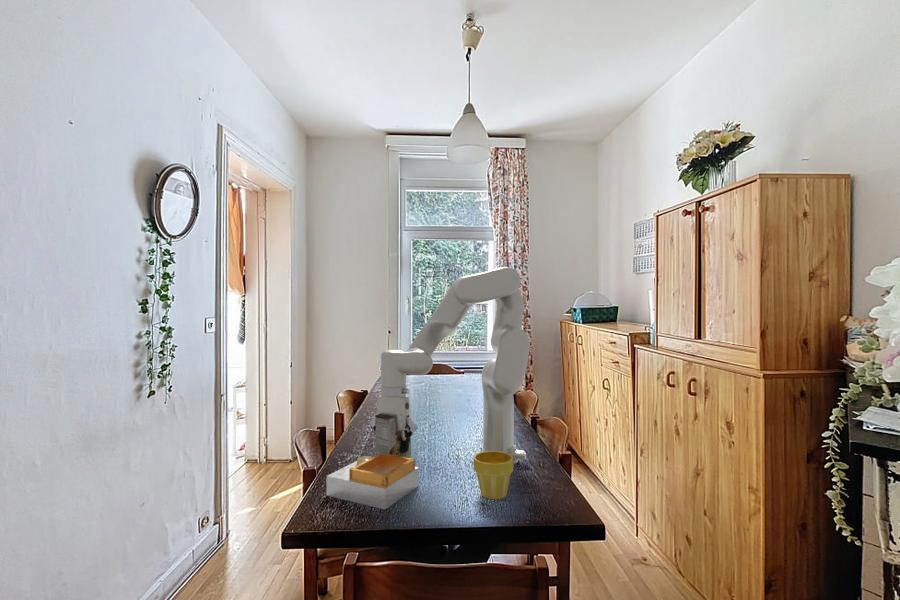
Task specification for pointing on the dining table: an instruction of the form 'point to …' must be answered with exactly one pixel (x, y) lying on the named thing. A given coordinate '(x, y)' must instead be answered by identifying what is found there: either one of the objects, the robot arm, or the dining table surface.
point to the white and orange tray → (374, 480)
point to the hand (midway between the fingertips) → (393, 449)
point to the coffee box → (389, 436)
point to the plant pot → (493, 473)
